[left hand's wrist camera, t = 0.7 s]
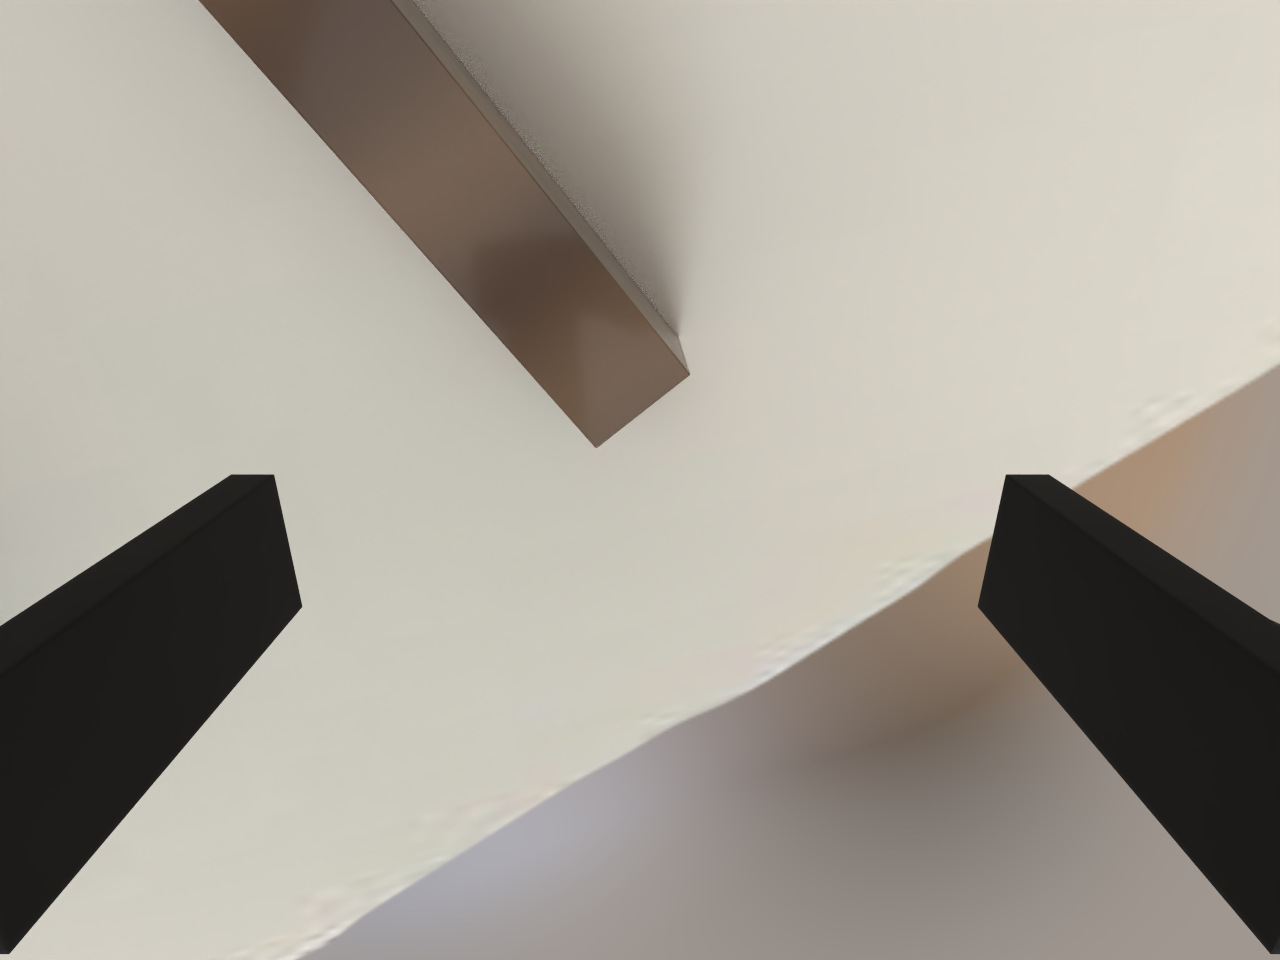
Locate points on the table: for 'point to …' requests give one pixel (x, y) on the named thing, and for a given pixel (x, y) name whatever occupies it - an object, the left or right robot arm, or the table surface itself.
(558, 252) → the beam
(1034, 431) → the table surface
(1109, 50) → the table surface
